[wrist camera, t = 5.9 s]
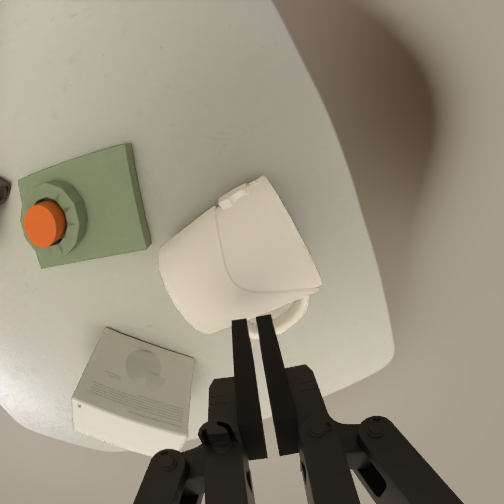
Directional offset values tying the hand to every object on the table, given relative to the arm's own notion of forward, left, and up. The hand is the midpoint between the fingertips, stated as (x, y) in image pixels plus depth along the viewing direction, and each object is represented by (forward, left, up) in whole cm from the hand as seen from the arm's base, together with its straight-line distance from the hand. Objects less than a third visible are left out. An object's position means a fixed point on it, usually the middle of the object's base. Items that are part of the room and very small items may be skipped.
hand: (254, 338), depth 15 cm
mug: (0, 0, -13) cm, 13 cm away
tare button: (+16, -7, -9) cm, 20 cm away
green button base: (+14, -7, -12) cm, 20 cm away
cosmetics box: (+13, +11, -13) cm, 21 cm away
